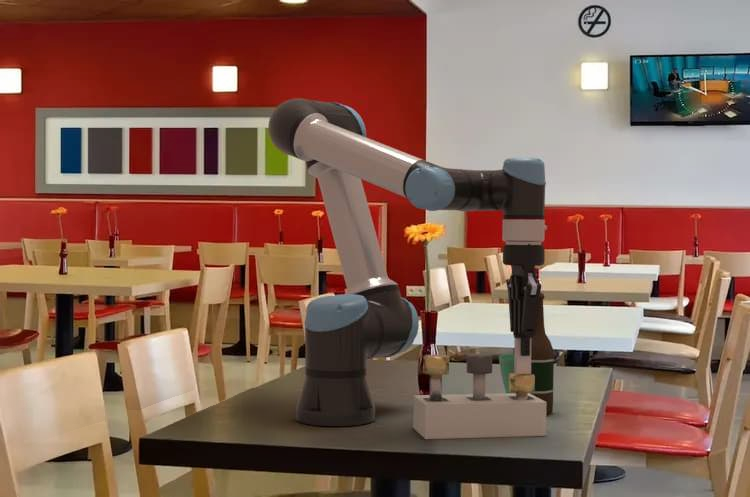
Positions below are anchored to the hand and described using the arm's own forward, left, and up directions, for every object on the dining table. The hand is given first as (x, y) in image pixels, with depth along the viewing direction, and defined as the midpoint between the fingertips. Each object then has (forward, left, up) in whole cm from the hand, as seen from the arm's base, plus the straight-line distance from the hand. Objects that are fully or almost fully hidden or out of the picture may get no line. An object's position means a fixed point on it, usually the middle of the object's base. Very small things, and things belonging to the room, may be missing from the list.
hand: (522, 373), depth 196 cm
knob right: (0, 0, -8) cm, 8 cm away
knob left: (-16, 0, -5) cm, 17 cm away
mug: (+10, +28, -11) cm, 32 cm away
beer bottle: (+8, +17, -11) cm, 22 cm away
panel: (-8, 0, -11) cm, 13 cm away
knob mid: (-8, 0, -5) cm, 9 cm away
